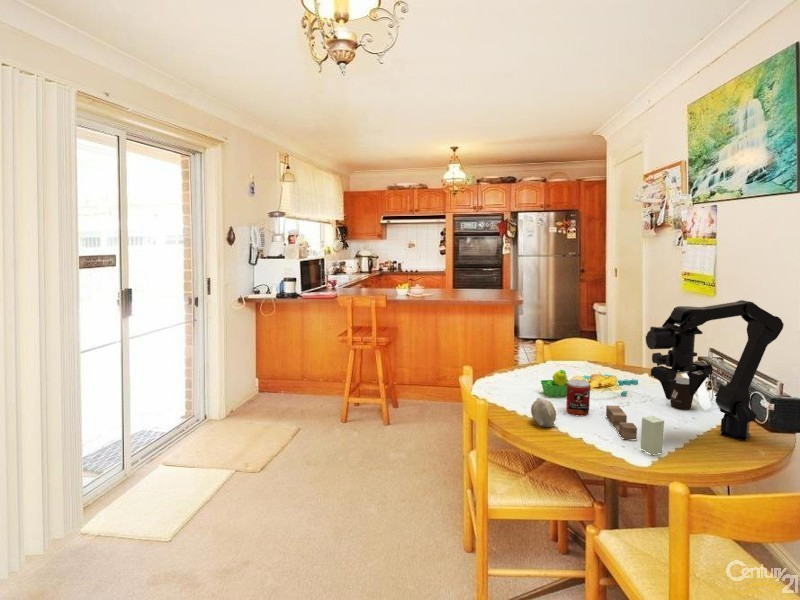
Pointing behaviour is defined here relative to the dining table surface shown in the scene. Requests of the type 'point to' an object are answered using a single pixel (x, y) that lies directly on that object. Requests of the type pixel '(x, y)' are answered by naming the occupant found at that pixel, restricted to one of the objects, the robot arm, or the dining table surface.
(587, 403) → the canned food
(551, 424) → the grey faceted lump
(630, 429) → the rail
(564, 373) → the fruit basket
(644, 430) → the post
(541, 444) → the dining table surface
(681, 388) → the coffee mug
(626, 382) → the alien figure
